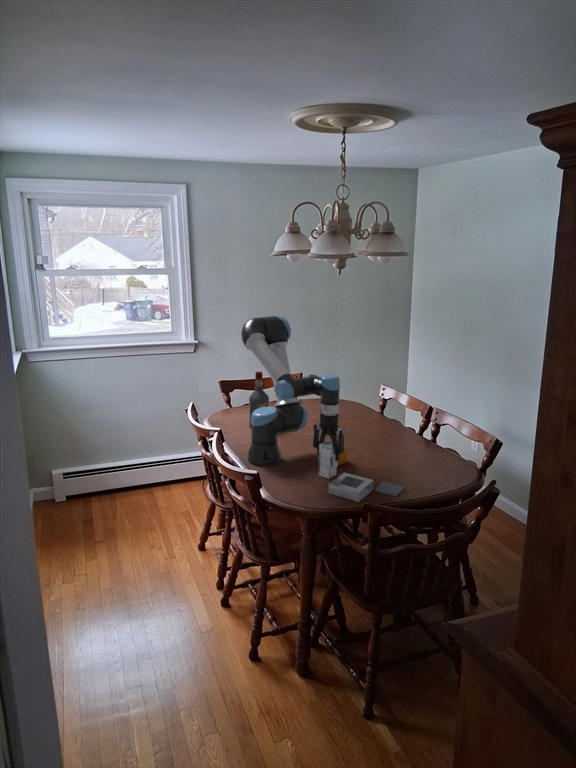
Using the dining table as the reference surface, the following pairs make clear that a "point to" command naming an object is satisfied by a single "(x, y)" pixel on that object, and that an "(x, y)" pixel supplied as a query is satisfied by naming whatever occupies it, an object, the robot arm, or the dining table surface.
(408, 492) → the dining table surface
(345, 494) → the block
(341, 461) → the fruit
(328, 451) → the syrup box
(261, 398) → the liquor
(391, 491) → the mat
